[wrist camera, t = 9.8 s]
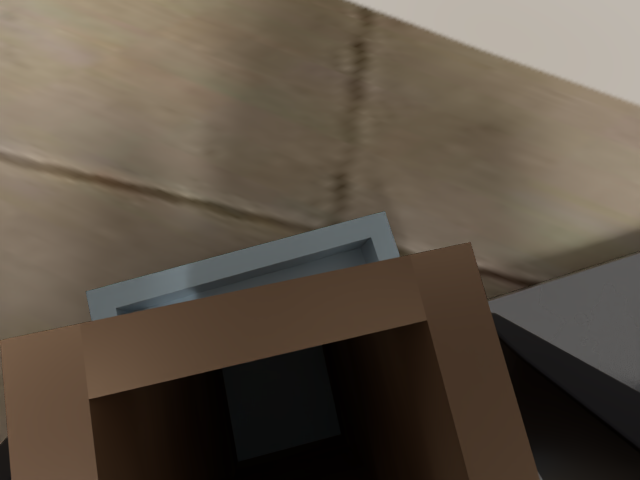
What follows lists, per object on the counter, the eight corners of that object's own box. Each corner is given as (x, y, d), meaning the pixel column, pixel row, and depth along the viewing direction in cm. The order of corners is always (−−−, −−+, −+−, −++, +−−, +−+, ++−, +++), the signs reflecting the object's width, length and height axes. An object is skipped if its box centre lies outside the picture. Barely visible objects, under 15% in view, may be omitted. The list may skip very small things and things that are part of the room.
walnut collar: (366, 451, 16) (621, 755, 4) (219, 491, 15) (53, 995, 4) (334, 306, 17) (470, 242, 5) (194, 337, 16) (0, 339, 5)
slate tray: (175, 596, 15) (157, 647, 13) (112, 297, 17) (85, 291, 14) (455, 487, 17) (486, 513, 14) (370, 227, 19) (384, 211, 16)
